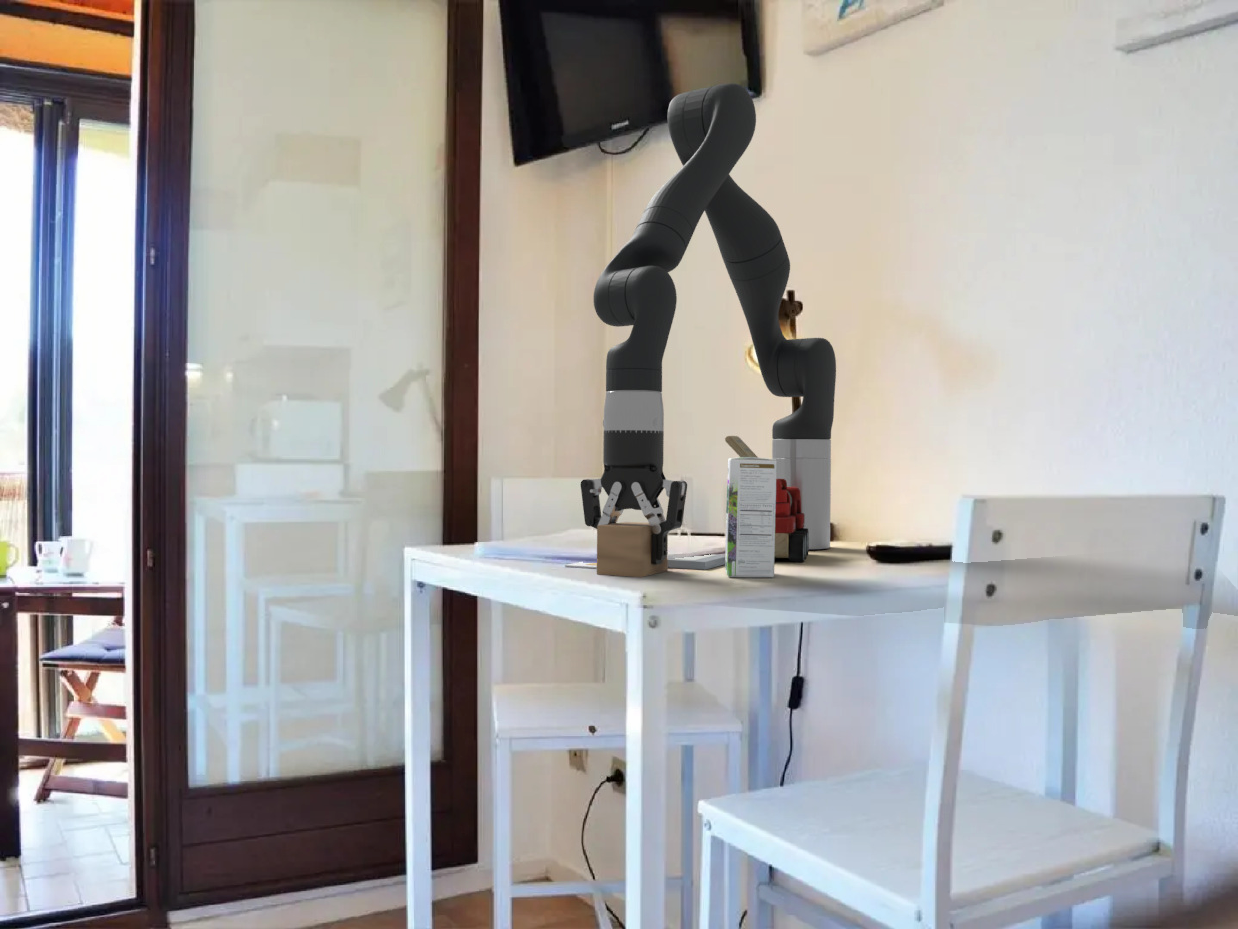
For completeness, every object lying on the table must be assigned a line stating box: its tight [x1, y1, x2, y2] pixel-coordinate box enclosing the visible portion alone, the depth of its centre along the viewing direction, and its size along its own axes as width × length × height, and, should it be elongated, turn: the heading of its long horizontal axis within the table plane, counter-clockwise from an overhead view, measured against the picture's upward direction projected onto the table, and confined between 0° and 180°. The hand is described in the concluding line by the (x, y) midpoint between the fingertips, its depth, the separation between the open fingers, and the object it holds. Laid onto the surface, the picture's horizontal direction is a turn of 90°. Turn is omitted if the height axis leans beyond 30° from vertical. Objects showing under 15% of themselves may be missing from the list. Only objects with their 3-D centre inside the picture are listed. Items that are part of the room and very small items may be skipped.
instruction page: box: [564, 561, 597, 569], centre depth 139 cm, size 9×7×1 cm
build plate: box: [667, 553, 725, 571], centre depth 141 cm, size 10×10×1 cm
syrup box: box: [724, 456, 776, 578], centre depth 128 cm, size 6×6×14 cm
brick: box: [596, 521, 669, 578], centre depth 131 cm, size 8×6×6 cm
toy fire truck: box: [724, 435, 810, 563], centre depth 151 cm, size 11×16×18 cm
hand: (632, 562), depth 131 cm, fingers closed on brick, 6 cm apart
